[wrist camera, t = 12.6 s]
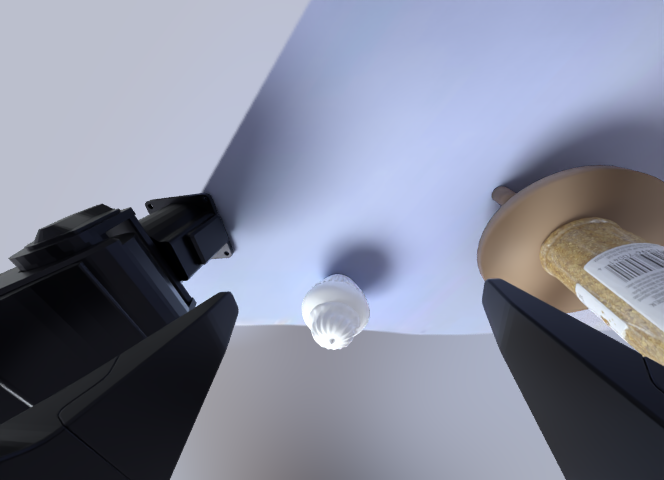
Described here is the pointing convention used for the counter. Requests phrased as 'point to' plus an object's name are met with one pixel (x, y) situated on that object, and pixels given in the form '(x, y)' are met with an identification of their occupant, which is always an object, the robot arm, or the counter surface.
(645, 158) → the counter surface
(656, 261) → the sprinkles bottle
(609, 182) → the walnut footstool
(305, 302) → the muffin
